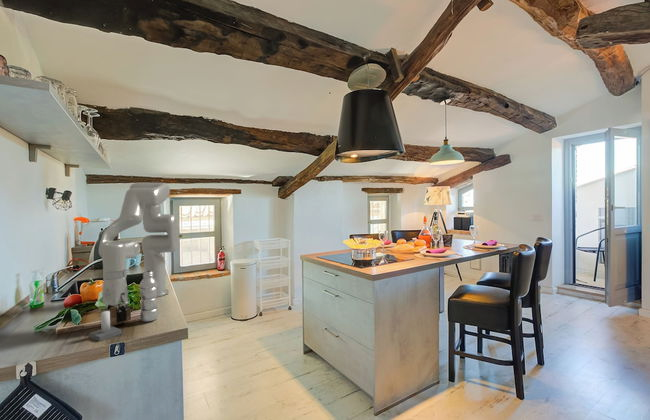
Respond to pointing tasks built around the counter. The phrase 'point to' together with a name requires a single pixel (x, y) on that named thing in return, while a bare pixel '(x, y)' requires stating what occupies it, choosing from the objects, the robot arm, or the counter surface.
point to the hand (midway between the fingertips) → (116, 319)
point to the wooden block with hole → (114, 315)
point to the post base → (105, 335)
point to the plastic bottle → (148, 297)
